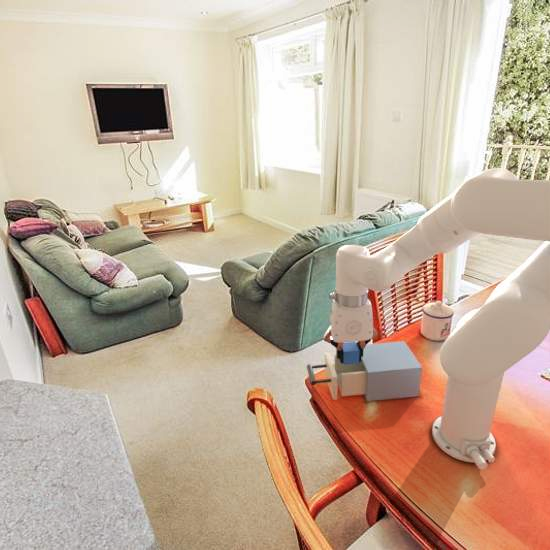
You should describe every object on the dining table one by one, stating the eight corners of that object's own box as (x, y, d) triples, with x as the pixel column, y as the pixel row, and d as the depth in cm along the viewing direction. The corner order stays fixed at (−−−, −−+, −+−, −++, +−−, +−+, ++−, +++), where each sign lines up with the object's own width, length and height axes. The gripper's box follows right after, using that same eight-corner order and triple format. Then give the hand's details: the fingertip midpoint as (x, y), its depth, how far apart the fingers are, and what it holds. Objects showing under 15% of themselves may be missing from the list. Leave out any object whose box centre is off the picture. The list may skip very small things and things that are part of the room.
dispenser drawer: (312, 402, 95) (311, 379, 92) (306, 375, 104) (305, 354, 101) (381, 395, 95) (382, 372, 93) (368, 369, 105) (369, 348, 102)
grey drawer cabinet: (366, 401, 95) (368, 372, 91) (354, 372, 106) (355, 345, 102) (419, 396, 96) (422, 367, 92) (401, 367, 106) (404, 340, 103)
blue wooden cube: (359, 363, 95) (359, 350, 94) (343, 364, 95) (343, 351, 93) (354, 354, 99) (355, 341, 97) (340, 355, 99) (340, 342, 97)
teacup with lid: (445, 344, 115) (450, 311, 110) (415, 336, 120) (419, 304, 116) (456, 327, 123) (461, 296, 119) (428, 319, 129) (431, 289, 124)
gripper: (319, 307, 86) (320, 371, 93) (391, 301, 86) (386, 365, 94) (314, 292, 92) (315, 353, 100) (380, 287, 93) (376, 348, 101)
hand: (349, 358), depth 97 cm, fingers closed on blue wooden cube, 3 cm apart
